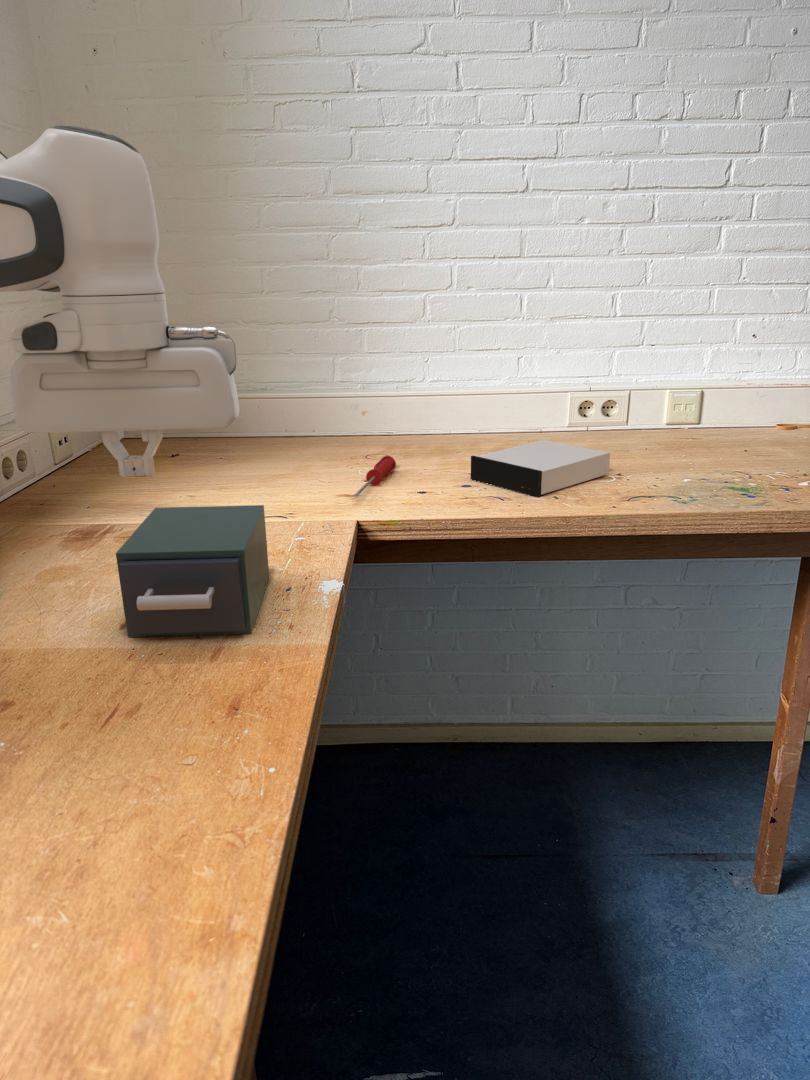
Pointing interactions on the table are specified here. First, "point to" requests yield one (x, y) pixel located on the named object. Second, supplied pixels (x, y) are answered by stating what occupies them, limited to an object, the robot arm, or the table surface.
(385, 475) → the screwdriver
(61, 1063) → the table surface
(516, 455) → the disc drive
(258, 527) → the cabinet
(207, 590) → the drawer
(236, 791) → the table surface
